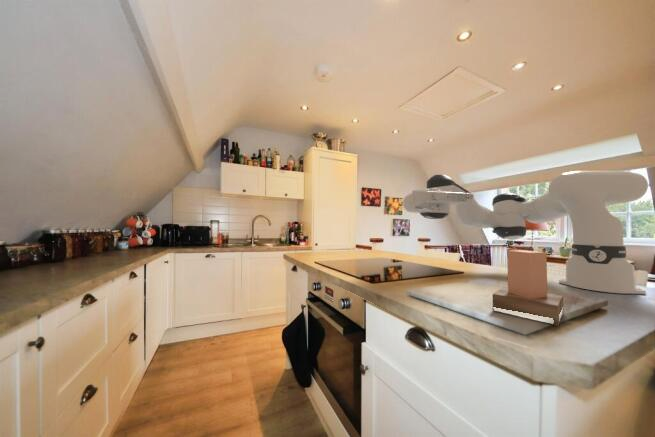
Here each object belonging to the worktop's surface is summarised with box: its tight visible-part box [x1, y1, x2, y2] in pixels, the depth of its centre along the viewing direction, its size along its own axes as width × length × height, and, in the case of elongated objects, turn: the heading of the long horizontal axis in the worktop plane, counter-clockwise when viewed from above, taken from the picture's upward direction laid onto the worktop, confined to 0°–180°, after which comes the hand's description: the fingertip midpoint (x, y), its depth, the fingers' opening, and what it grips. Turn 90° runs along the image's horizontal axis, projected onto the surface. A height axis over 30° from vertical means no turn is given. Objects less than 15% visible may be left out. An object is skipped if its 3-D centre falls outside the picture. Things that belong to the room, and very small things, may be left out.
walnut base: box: [492, 286, 564, 327], centre depth 55 cm, size 11×11×4 cm
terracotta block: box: [506, 249, 548, 299], centre depth 56 cm, size 5×5×10 cm
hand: (460, 195), depth 78 cm, fingers open, 8 cm apart
